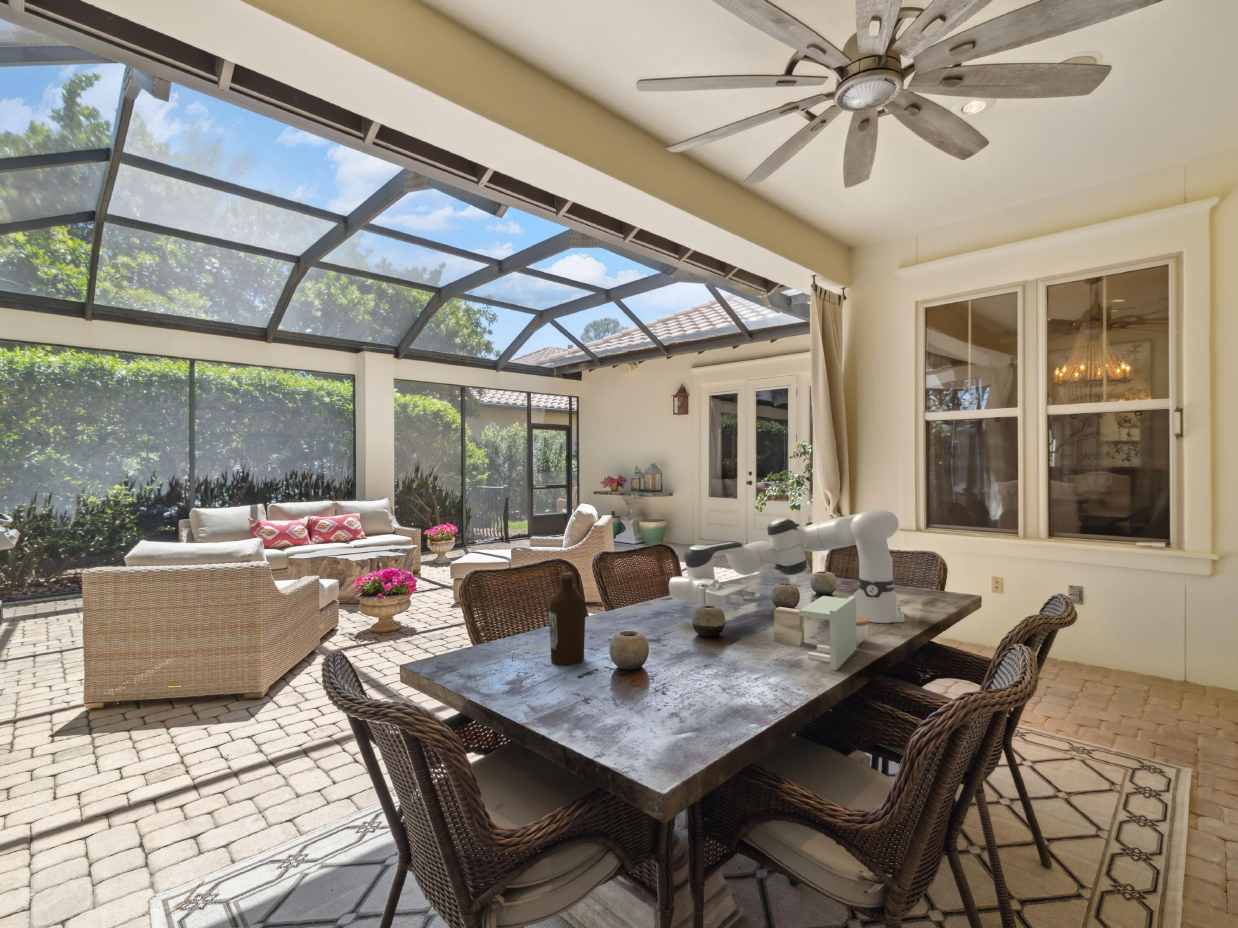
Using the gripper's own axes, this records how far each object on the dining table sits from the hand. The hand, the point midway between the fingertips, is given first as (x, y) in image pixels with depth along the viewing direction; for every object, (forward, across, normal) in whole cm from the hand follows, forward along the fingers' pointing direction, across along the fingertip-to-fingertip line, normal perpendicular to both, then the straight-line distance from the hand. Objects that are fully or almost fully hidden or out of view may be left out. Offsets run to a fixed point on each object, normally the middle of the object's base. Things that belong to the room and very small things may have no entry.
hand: (749, 597), depth 194 cm
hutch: (+28, +8, -12) cm, 31 cm away
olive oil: (-33, +53, -13) cm, 64 cm away
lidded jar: (+29, -10, -13) cm, 33 cm away
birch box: (+13, 0, -12) cm, 18 cm away
